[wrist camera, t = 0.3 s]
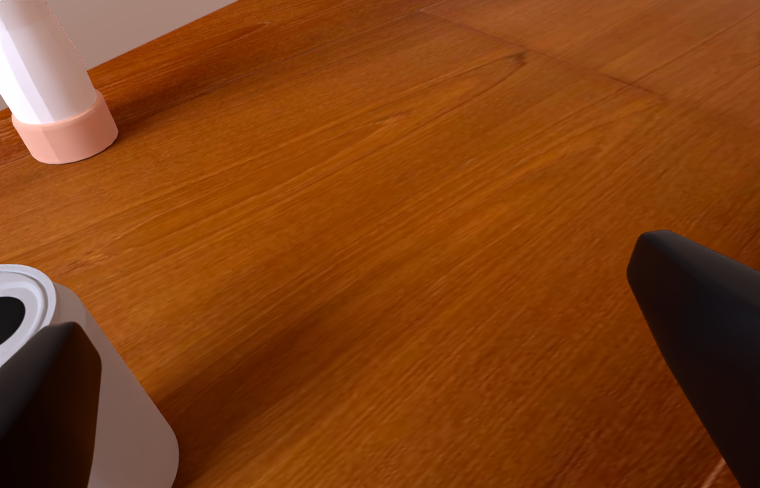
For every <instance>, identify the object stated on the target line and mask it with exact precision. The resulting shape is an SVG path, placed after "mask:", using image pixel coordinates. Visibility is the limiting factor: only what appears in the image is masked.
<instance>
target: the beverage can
mask: <svg viewBox="0 0 760 488" xmlns="http://www.w3.org/2000/svg"><path fill="white" fill-rule="evenodd" d="M69 321H73V322H77V323H78V324H80V326H81V327H82V328H83V330H84V331H85V333H86V334H87V336H88V337H89V339H90V340H91V342H92V343H93V345H94V347H95V348H96V350H97V351H98V353H99V355H100V358H101V362H102V374H101V385H100V395H99V405H98V416H97V426H96V437H95V447H94V455H93V463H92V468H91V473H90V479H89V483H88V488H171V487H172V485H173V482H174V480H175V477H176V474H177V469H178V463H179V448H178V443H177V439H176V436H175V434H174V432H173V430H172V428H171V427H170V426H169V424H168V423H167V421H166V420H165V418H164V417H163V416H162V414H161V413H160V411H159V410H158V409H157V407H156V406H155V404H154V403H153V402H152V400H151V399H150V397H149V396H148V394H147V393H146V392H145V390H144V389H143V387H142V386H141V385H140V383H139V382H138V380H137V379H136V378H135V376H134V375H133V373H132V372H131V370H130V369H129V368H128V366H127V365H126V363H125V362H124V361H123V359H122V358H121V356H120V355H119V354H118V352H117V351H116V349H115V348H114V346H113V345H112V344H111V342H110V341H109V339H108V338H107V337H106V335H105V334H104V332H103V331H102V329H101V328H100V327H99V325H98V324H97V322H96V321H95V320H94V318H93V317H92V315H91V314H90V313H89V311H88V310H87V308H86V307H85V305H84V304H83V303H82V301H81V300H80V299H79V297H78V296H77V295H76V294H75V293H74V292H73V291H71V290H70V289H68V288H67V287H65V286H63V285H60V284H58V283H54V282H52V281H51V280H50V279H49V277H48V276H47V275H45V274H44V273H43V272H41V271H39V270H37V269H35V268H32V267H29V266H24V265H17V264H1V265H0V367H1V366H2V365H3V364H4V363H5V362H6V361H7V360H8V359H9V358H10V357H11V356H12V355H14V354H15V353H16V352H17V351H18V350H19V349H20V348H21V347H22V346H23V345H24V344H25V343H26V342H27V341H29V340H30V339H31V338H32V337H33V336H34V335H35V334H36V333H37V332H38V331H39V330H40V329H42V328H43V327H45V326H47V325H50V324H56V323H62V322H69Z"/></svg>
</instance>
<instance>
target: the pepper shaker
mask: <svg viewBox="0 0 760 488" xmlns="http://www.w3.org/2000/svg"><path fill="white" fill-rule="evenodd" d="M0 94H1V96H2V97H3V99H4V100H5V102H6V103H7V105H8V107H9V108H10V110H11V111H12V122H13V125H14V126H15V128H16V130H17V131H18V133H19V135H20V136H21V138H22V139H23V141H24V143H25V144H26V146H27V148H28V149H29V151H30V153H31V154H32V156H33V157H34V158H35V159H37V160H38V161H40V162H44V163H47V164H63V163H70V162H76V161H79V160H82V159H85V158H88V157H91V156H93V155H95V154H97V153H99V152H101V151H103V150H104V149H105V148H107V147H108V146H110V145H111V144H112V143H113V142H114V140H115V139H116V138H117V135H118V129H117V127H116V124H115V122H114V120H113V118H112V116H111V113H110V111H109V109H108V107H107V104H106V102H105V100H104V98H103V96H102V93H100V92H99V91H98V90H96V89H94V87H93V85H92V83H91V80H90V78H89V76H88V73H87V71H86V69H85V66H84V64H83V62H82V59H81V57H80V55H79V53H78V51H77V50H76V48H75V47H74V45H73V44H72V42H71V41H70V39H69V37H68V36H67V34H66V33H65V31H64V30H63V28H62V27H61V25H60V24H59V22H58V20H57V19H56V18H55V16H54V14H53V13H52V11H51V10H50V8H49V6H48V4H47V2H46V0H0Z"/></svg>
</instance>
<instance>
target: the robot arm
mask: <svg viewBox="0 0 760 488" xmlns="http://www.w3.org/2000/svg"><path fill="white" fill-rule="evenodd" d="M627 279H628V283H629V285H630V287H631V289H632V292H633V294H634V296H635V298H636V300H637V302H638V304H639V307H640V309H641V311H642V313H643V315H644V317H645V320H646V322H647V324H648V326H649V328H650V330H651V333H652V335H653V337H654V339H655V341H656V343H657V345H658V348H659V350H660V351H661V353H662V355H663V357H664V359H665V361H666V363H667V365H668V366H669V368H670V370H671V372H672V373H673V375H674V377H675V378H676V380H677V382H678V383H679V385H680V387H681V388H682V390H683V392H684V393H685V395H686V397H687V398H688V400H689V402H690V403H691V405H692V407H693V408H694V410H695V412H696V413H697V415H698V417H699V418H700V420H701V422H702V423H703V425H704V427H705V428H706V430H707V432H708V433H709V435H710V437H711V438H712V440H713V442H714V443H715V445H716V447H717V448H718V450H719V452H720V453H721V455H722V457H723V458H724V460H725V462H726V463H727V465H728V467H729V468H730V470H731V472H732V473H733V475H734V477H735V478H736V480H737V482H738V483H739V485H740V487H741V488H760V272H759V271H757V270H755V269H753V268H751V267H748V266H746V265H744V264H742V263H740V262H737V261H735V260H733V259H731V258H729V257H726V256H724V255H722V254H720V253H718V252H715V251H713V250H711V249H709V248H707V247H705V246H702V245H700V244H698V243H696V242H694V241H691V240H689V239H687V238H685V237H683V236H680V235H678V234H676V233H674V232H672V231H669V230H657V231H651V232H645V233H643V234H641V235H640V236H639V237H638V239H637V242H636V244H635V247H634V250H633V253H632V255H631V258H630V261H629V264H628V267H627ZM101 374H102V362H101V358H100V355H99V353H98V351H97V350H96V348H95V347H94V345H93V343H92V342H91V340H90V339H89V337H88V336H87V334H86V333H85V331H84V330H83V328H82V327H81V326H80V324H78V323H77V322H73V321H69V322H62V323H56V324H50V325H47V326H45V327H43V328H42V329H40V330H39V331H38V332H37V333H36V334H35V335H34V336H33V337H32V338H31V339H30V340H29V341H27V342H26V343H25V344H24V345H23V346H22V347H21V348H20V349H19V350H18V351H17V352H16V353H15V354H14V355H12V356H11V357H10V358H9V359H8V360H7V361H6V362H5V363H4V364H3V365H2V366H1V367H0V488H88V483H89V479H90V473H91V468H92V463H93V455H94V447H95V437H96V426H97V416H98V405H99V395H100V385H101Z"/></svg>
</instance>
